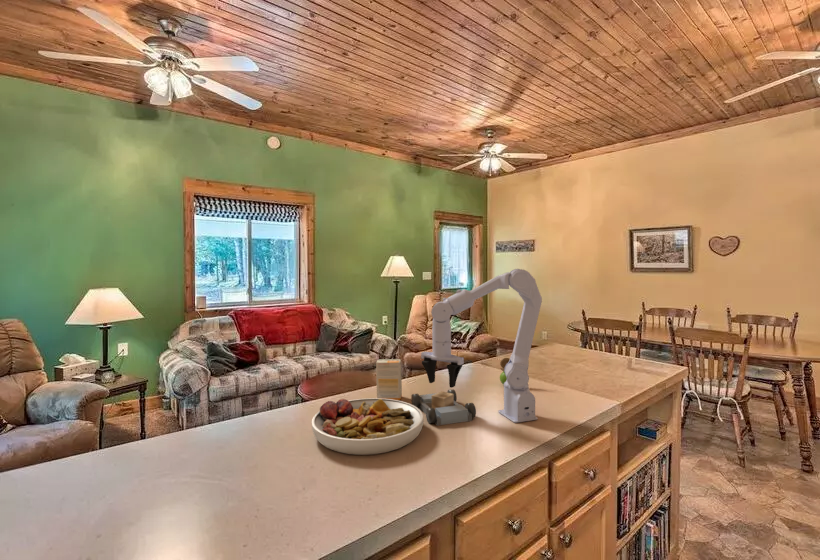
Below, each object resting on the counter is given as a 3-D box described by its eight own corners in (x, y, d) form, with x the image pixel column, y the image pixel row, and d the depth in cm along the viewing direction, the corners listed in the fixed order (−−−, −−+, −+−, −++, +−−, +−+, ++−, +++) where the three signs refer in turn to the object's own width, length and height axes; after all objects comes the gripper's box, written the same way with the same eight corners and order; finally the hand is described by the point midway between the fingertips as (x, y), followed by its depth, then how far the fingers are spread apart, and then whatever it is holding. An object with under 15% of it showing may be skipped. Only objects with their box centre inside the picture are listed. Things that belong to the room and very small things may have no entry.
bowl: (434, 419, 122) (433, 392, 122) (406, 468, 93) (405, 434, 93) (341, 410, 130) (341, 385, 130) (289, 452, 101) (288, 421, 101)
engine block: (453, 409, 128) (453, 393, 128) (443, 414, 124) (443, 398, 123) (441, 406, 131) (441, 391, 131) (431, 411, 126) (431, 395, 126)
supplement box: (402, 396, 142) (401, 358, 142) (400, 400, 138) (400, 362, 137) (378, 395, 143) (378, 358, 143) (376, 400, 138) (375, 361, 138)
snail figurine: (518, 387, 151) (518, 355, 150) (501, 387, 151) (501, 355, 151) (515, 383, 156) (515, 351, 156) (498, 383, 156) (498, 352, 156)
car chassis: (476, 420, 120) (476, 405, 120) (431, 426, 116) (431, 411, 116) (450, 399, 138) (450, 387, 138) (410, 404, 134) (410, 391, 134)
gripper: (468, 341, 125) (469, 385, 125) (430, 336, 134) (430, 377, 134) (456, 345, 119) (456, 391, 120) (416, 339, 128) (417, 382, 129)
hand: (442, 384), depth 127 cm, fingers open, 7 cm apart
